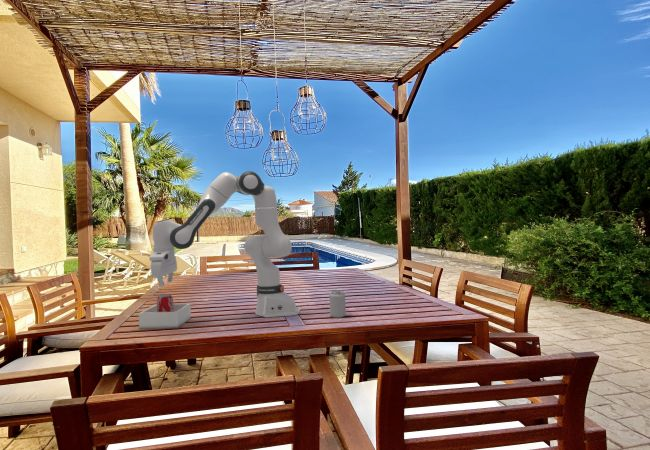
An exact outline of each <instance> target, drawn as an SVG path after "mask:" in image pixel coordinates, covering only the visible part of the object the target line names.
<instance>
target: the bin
mask: <svg viewBox="0 0 650 450" xmlns="http://www.w3.org/2000/svg"><path fill="white" fill-rule="evenodd" d="M191 304H192V303H173V312H157V303H156V304H154V305H152V306H150V307H148V308H146V309H144V310H142V311H141V312H139V313H138V325H139V326H138V329H139V330H147V329H148V330H150V329H153V330H154V329H155V330H157V329H179V328H180V327H181V326H182V325H184V324H186V322H187V321H189V320H190V319H191V318H192V311H191V308H192V306H191Z"/></svg>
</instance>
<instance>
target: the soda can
mask: <svg viewBox="0 0 650 450" xmlns="http://www.w3.org/2000/svg"><path fill="white" fill-rule="evenodd" d="M156 304H157V312H173V304H174V298H173V296H172V294H171V293H164V294H163V293H162V294H159V295H158V297H157V299H156Z"/></svg>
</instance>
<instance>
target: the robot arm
mask: <svg viewBox="0 0 650 450" xmlns="http://www.w3.org/2000/svg"><path fill="white" fill-rule="evenodd" d="M235 193H239V194H241V195H244V196H252V198H253V199H254V213H255V216H254V217H255V224H256V226H258V228H260V229H261V230H263V233H264V235H252V236H250V237H249V236H248V237H247V239H246V240H245V242H244V247H243V249H244V251H245V253H246V254H247V255H248V256H249V257H250V259H251V260H252V261H253V263H254V266H255V268H256V278H257V285H256V297H257V298H256V300H257V301H256V307H255V311H254V314H255V315H256V316H260V317H264V318H274V317H275V318H276V317H288V316H289V317H290V316H291V317H292V316H297V315H299V314H300V312H301V309H300V307H298V306H296V302H295V299H294V298H293V296H290V294H288V293H287V292H285V286H284V285H283V284H281V283H280V281H281V279H280V269H279V267H278V266H277V265H276V264H274V263H273V262H272V259H271V258H276V259H279V258H284V257H288V256H289V255H290V254H291V252H292V248H293V246H292V242H291V240H290V238H289V237H288V236H286V234H285V233H284V232H283V231H282V229H281V226H280V223H279V217H278V215H279V213H278V201H277V196H276V191H275V189H274V187H272V186H270V185H265V183H264V182H263V180H262V179H261V177H260V175H258V174H257V173H256V172H254V171H251V170H247V171H245V172H242V173H241V174H240V175H238V176H236V175H234V174H232V173H231V172H229V171H228V172H227V171H224V172H222V173H220V174H219V175H218V176H217V177H216V178H215V179H214V180H212V181H211V183H210V184H209V185H208V186H207V187H206V189H205V190H204V192H203V194H202V195H201V198H200V200H199V203H198V204H197V207H196V209H195V210H194V211H193V212H192V214H190V216H189V217H188V218H187V220H186V221H185V222H184V223H182V224H180V223H177V222H175V221H173V220H171V219H170V218H168V219H162V220H158V221H155V222H154V224H153V226H152V240H153V245H154V246H153V252H152V253H151V255H149V261H150V271H151V272H150V273H151V277H152V278H153V279H157V282H158V286H159V287H163V286H165V281H164V277H165V276H167V275H168V276H167V283H173V281H174V280H173V277H174V272H177V270H178V263H177V262H178V261H177V257H176V255H175V249H178V250H185V249H188V248H190V247H191V246H192V245H193V243H194V241H195V237H196V233H197V231H199V229H200V228H201V227H202V225H203V224H204V223H205V221H206V220H207V219H208V218H209V217H210V216H211V215H213V214H214V213H216V212H217V211H218V210H220V209H221V208H222V207H223V206H224V205H225V204H226V203H227V202H228V200H229V199H231V197H232V195H234V194H235Z"/></svg>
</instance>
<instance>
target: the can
mask: <svg viewBox="0 0 650 450" xmlns="http://www.w3.org/2000/svg"><path fill="white" fill-rule="evenodd" d="M346 311H347V310H346V294H345V293H344V290H340V289H339V290H331V291H330V293H329V316H331V318H335V319H336V318H338V319H340V318H344V317H345V316H346Z"/></svg>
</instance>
